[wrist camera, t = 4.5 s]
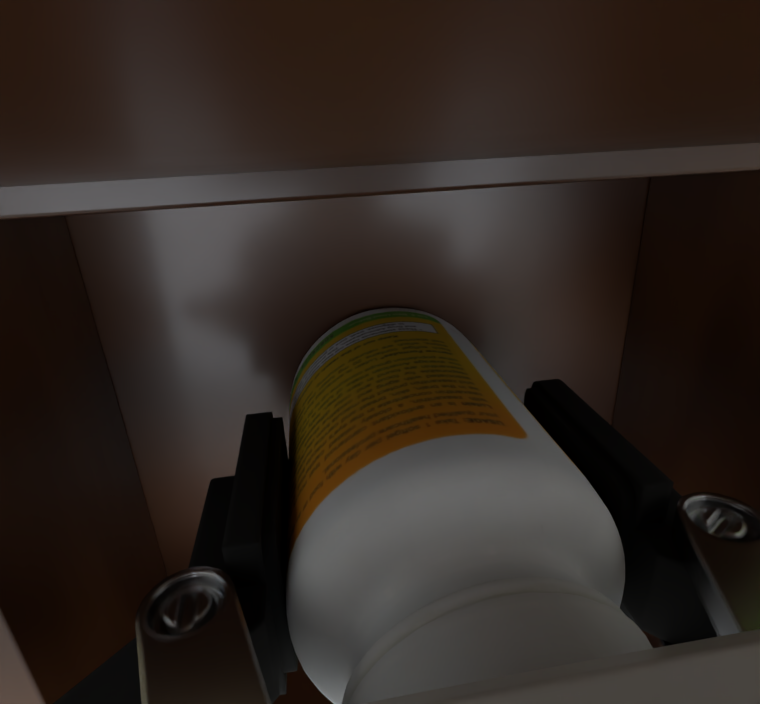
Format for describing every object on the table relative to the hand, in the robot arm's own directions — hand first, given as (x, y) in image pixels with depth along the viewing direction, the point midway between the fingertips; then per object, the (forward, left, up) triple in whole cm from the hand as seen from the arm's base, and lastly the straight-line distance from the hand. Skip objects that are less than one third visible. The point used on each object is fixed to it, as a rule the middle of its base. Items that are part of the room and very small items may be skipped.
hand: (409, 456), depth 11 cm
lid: (-6, -4, +11) cm, 13 cm away
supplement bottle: (0, 0, -3) cm, 3 cm away
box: (0, 0, -4) cm, 4 cm away
